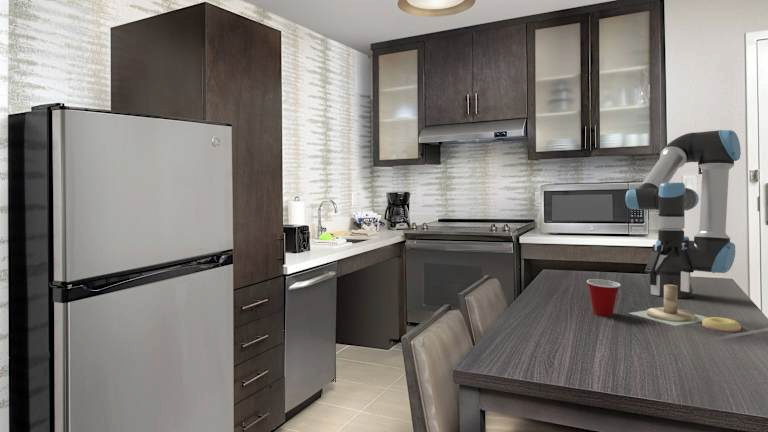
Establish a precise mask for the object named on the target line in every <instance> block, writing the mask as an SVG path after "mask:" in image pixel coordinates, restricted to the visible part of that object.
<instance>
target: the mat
mask: <svg viewBox="0 0 768 432" xmlns="http://www.w3.org/2000/svg"><path fill="white" fill-rule="evenodd" d="M647 310H648V309H646V310H640V311H634V312H633V311H632V312H628V314H630V315H633V316H638V317H640V318H645V319H648V320H650V321H651V320H652V321H655V322H659V323H662V324H665V325H666V324H667V325H671V326H674V327H676V326H677V327H678V326H681V325H682V326H683V325H689V324H695V323H700V322H701V323H702V321H703V320H704V319H705V318H708V316H704V315H700V314H696V313H694V314H695V319H694V320H691V321H666V320H660V319H655V318H652V317H650V316H648V315H647Z"/></svg>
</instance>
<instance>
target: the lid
mask: <svg viewBox="0 0 768 432" xmlns="http://www.w3.org/2000/svg"><path fill="white" fill-rule="evenodd" d="M677 295H678V286H677V285H664V297H663V307H651V308H647V309H646V310H647V315H648V316H650V317H652V318H655V319H660V320H666V321H691V320H694V319H695V314H696V313H694V312H693V311H690V310H687V309H682V308H678V298H677Z"/></svg>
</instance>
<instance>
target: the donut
mask: <svg viewBox="0 0 768 432" xmlns="http://www.w3.org/2000/svg"><path fill="white" fill-rule="evenodd" d="M707 317H708V316H707ZM701 324H702V326H703V327H704V328H706V329H709V330H714V331H719V332H720V331H721V332H728V333H729V332H734V333H735V332H740V331H741V330H742V326H741V324H740V323H739V322H738V321H737V320H734V319H731V318H728V317H727V318H726V317H720V316H719V317H718V316H710V317H708V318H705V319H704V320H703V321H702V322H701Z"/></svg>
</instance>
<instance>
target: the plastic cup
mask: <svg viewBox="0 0 768 432" xmlns="http://www.w3.org/2000/svg"><path fill="white" fill-rule="evenodd" d="M586 283H587V286H588V287H587V288H588V291H589V296H590V304H591V306H592V312H593V314H594V315H595V316H600V317H609V316H610V317H611V316H613V312H614V308H615V305H616V304H615V303H616V299H617V293H618V291H619V288H620V287H621V286H622V285H621V283H619V282H616V281H613V280H609V279H601V278H600V279H597V278H592V279H591V278H589V279H587V280H586Z"/></svg>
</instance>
